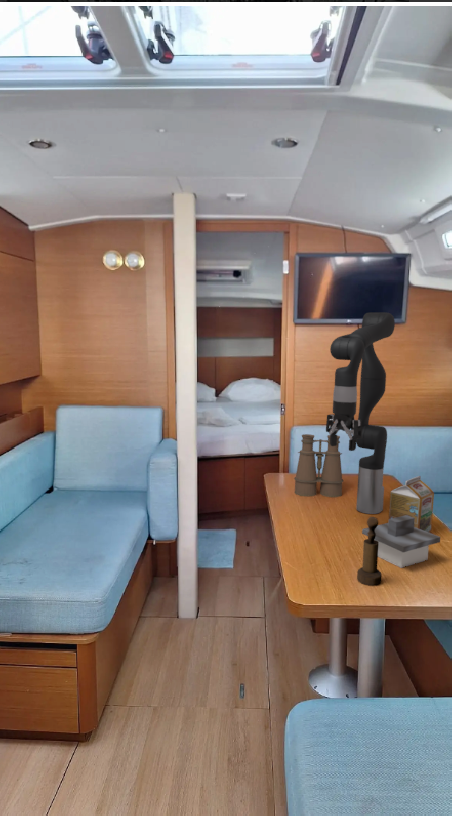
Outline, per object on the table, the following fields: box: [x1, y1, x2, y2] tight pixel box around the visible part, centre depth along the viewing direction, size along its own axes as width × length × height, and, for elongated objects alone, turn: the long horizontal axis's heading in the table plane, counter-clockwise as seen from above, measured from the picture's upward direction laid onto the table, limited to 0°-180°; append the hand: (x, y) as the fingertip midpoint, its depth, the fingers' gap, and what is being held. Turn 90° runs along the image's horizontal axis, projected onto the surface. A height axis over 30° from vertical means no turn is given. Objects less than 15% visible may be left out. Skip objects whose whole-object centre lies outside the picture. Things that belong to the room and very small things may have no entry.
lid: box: [361, 515, 441, 552], centre depth 161 cm, size 16×16×6 cm
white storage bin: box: [374, 539, 430, 569], centre depth 162 cm, size 12×12×6 cm
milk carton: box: [388, 475, 435, 534], centre depth 182 cm, size 11×11×19 cm
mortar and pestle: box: [356, 516, 383, 587], centre depth 145 cm, size 7×6×18 cm
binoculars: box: [293, 433, 344, 498], centre depth 224 cm, size 21×10×25 cm, turn 88°
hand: (342, 448), depth 176 cm, fingers open, 8 cm apart
